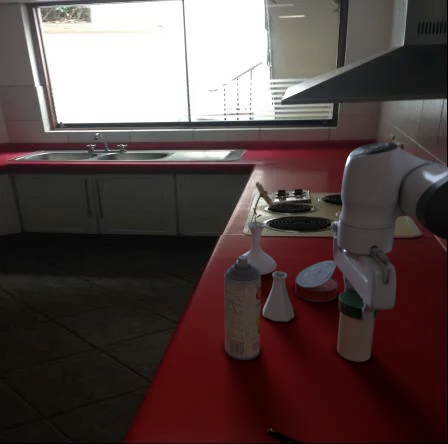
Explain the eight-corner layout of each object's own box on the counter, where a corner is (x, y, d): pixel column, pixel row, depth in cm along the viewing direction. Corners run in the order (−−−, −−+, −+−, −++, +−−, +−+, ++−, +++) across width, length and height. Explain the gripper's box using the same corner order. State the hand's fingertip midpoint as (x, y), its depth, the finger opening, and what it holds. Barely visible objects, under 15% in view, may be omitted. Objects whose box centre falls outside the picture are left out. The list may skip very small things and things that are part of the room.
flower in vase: (275, 280, 111) (278, 189, 104) (232, 277, 115) (232, 188, 107) (278, 261, 123) (280, 178, 115) (239, 258, 126) (239, 178, 119)
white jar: (367, 344, 83) (372, 294, 79) (373, 363, 77) (380, 310, 74) (334, 341, 84) (338, 292, 81) (339, 359, 79) (343, 308, 75)
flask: (298, 310, 96) (300, 270, 93) (290, 325, 91) (292, 284, 87) (267, 303, 100) (268, 265, 97) (257, 318, 94) (258, 277, 91)
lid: (374, 302, 80) (375, 291, 79) (382, 321, 74) (383, 309, 73) (335, 299, 82) (336, 289, 81) (340, 317, 76) (341, 306, 75)
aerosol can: (262, 359, 80) (264, 264, 74) (227, 360, 80) (226, 265, 74) (256, 339, 86) (257, 249, 80) (223, 340, 87) (222, 251, 81)
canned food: (327, 318, 101) (325, 294, 94) (288, 302, 107) (284, 278, 100) (347, 285, 105) (347, 259, 99) (309, 271, 112) (307, 246, 105)
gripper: (412, 260, 63) (401, 338, 67) (362, 219, 83) (355, 282, 87) (369, 260, 64) (360, 338, 68) (329, 220, 83) (324, 282, 87)
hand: (357, 306), depth 78 cm, fingers closed on lid, 7 cm apart
